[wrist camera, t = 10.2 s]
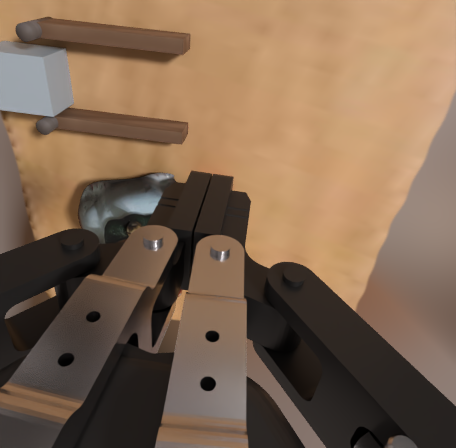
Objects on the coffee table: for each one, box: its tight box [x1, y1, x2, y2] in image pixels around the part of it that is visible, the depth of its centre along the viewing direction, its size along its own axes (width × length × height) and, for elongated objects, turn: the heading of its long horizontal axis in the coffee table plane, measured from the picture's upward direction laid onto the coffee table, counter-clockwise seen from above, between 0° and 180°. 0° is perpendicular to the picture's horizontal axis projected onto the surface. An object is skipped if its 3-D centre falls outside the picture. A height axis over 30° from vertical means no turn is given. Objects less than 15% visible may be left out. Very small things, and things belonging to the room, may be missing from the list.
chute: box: [16, 17, 190, 144], centre depth 40 cm, size 11×16×5 cm
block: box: [0, 41, 74, 117], centre depth 41 cm, size 6×7×5 cm
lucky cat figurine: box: [78, 173, 183, 297], centre depth 48 cm, size 15×12×14 cm
